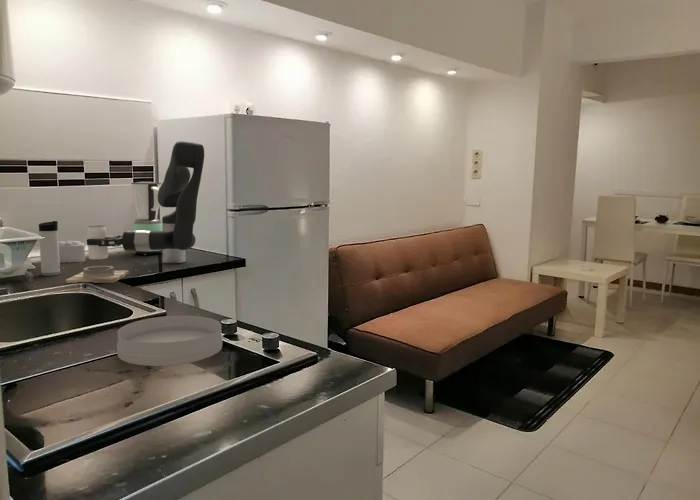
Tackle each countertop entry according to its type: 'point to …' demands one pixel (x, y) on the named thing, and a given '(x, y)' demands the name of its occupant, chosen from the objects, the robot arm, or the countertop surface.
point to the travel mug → (49, 248)
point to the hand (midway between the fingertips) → (90, 241)
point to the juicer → (147, 208)
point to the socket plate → (97, 279)
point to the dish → (169, 340)
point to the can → (95, 250)
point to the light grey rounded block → (71, 251)
